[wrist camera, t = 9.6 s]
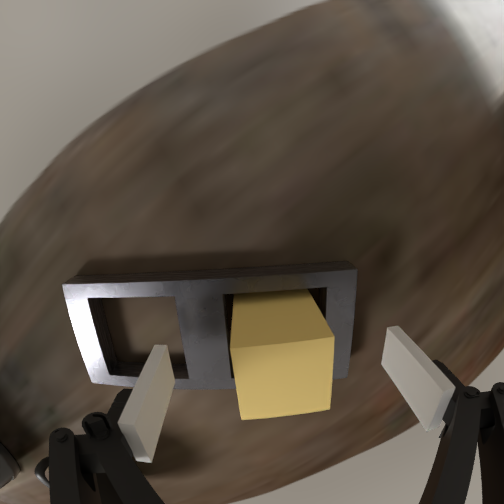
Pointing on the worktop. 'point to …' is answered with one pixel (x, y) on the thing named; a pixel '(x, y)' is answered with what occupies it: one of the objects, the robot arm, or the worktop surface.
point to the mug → (106, 489)
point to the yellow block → (280, 354)
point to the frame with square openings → (204, 316)
